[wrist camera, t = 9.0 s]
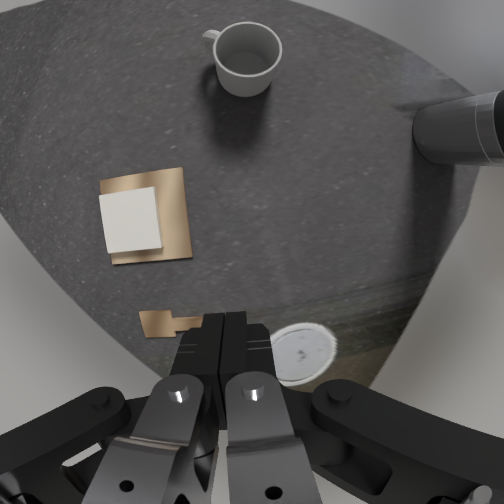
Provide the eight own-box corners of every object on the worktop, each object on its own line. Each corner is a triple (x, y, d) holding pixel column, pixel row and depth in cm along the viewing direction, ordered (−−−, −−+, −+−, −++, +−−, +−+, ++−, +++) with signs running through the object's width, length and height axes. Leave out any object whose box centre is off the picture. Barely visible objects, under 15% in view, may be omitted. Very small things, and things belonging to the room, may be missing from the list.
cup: (251, 108, 35) (256, 89, 26) (190, 71, 33) (178, 45, 24) (282, 69, 34) (295, 43, 25) (222, 34, 32) (219, 2, 23)
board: (182, 167, 36) (182, 167, 36) (192, 256, 40) (192, 257, 39) (101, 180, 36) (99, 180, 36) (113, 263, 39) (112, 264, 39)
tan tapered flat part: (224, 305, 42) (224, 309, 41) (228, 331, 43) (227, 335, 42) (139, 311, 42) (137, 314, 40) (146, 336, 43) (144, 339, 42)
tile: (153, 186, 35) (98, 195, 35) (161, 247, 37) (108, 253, 37) (156, 186, 36) (103, 194, 36) (163, 245, 39) (111, 250, 38)
